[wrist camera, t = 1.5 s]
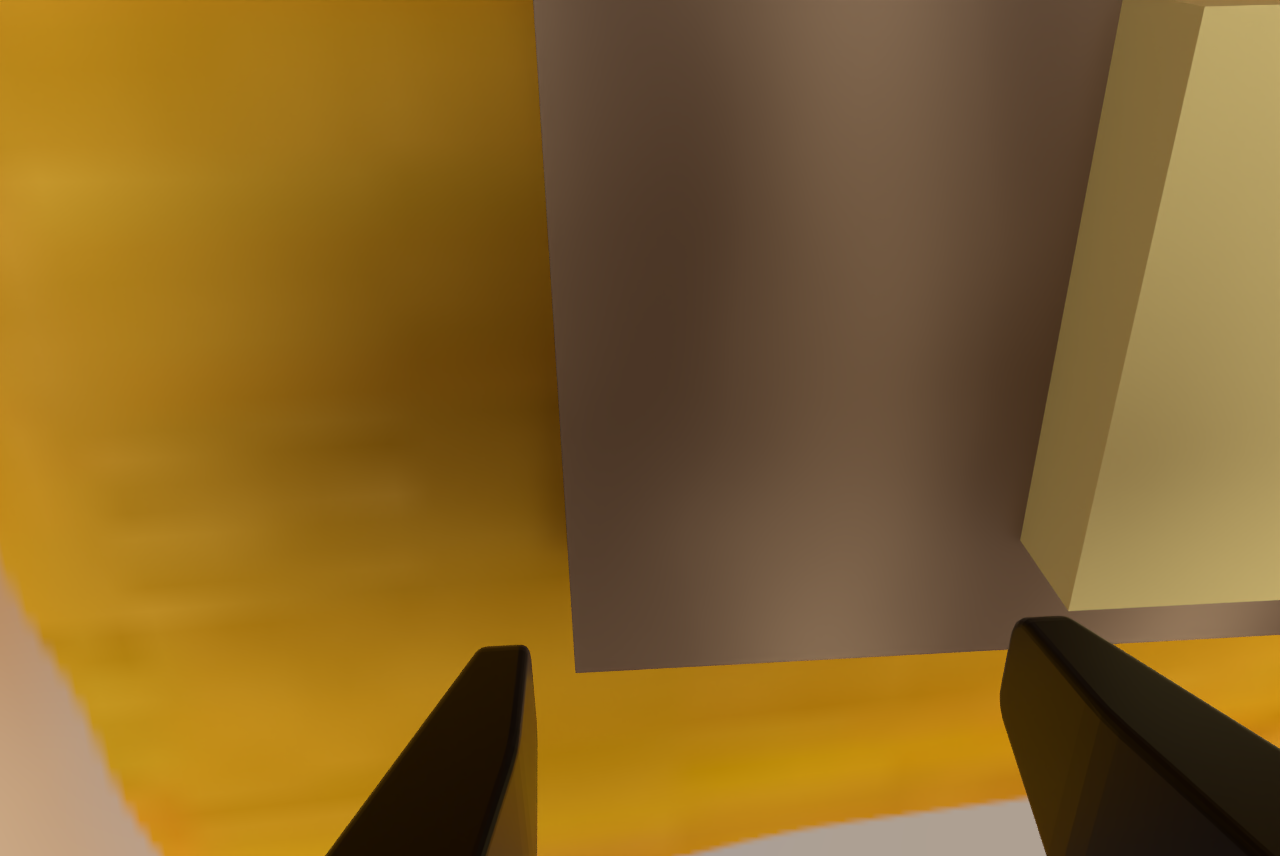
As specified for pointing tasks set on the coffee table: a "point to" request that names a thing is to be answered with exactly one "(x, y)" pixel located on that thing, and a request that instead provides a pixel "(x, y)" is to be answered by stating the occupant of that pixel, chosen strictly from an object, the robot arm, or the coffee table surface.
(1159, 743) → the robot arm
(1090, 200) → the bevelled yellow tile
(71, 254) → the coffee table surface
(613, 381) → the deck
